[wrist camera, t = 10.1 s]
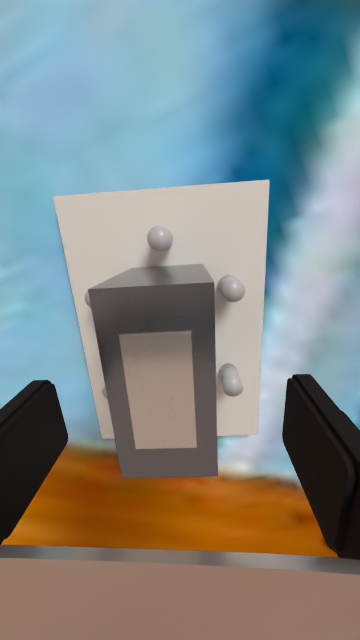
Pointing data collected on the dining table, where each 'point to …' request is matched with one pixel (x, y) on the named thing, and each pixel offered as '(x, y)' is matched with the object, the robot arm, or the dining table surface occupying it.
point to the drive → (160, 368)
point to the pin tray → (179, 249)
